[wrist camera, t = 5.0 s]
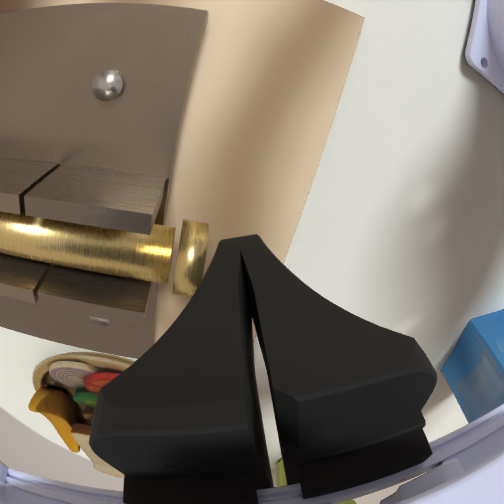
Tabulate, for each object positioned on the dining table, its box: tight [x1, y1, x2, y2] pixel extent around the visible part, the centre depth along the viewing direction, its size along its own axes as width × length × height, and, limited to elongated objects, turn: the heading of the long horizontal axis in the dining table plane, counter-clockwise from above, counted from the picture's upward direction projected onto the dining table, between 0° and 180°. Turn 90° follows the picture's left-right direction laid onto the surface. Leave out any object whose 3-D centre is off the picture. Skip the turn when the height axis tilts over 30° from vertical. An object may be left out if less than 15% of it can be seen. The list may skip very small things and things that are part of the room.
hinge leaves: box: [0, 3, 209, 359], centre depth 9 cm, size 12×15×4 cm
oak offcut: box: [0, 0, 364, 344], centre depth 11 cm, size 18×18×1 cm
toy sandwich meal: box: [28, 352, 135, 478], centre depth 17 cm, size 12×14×5 cm
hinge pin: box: [0, 210, 209, 297], centre depth 9 cm, size 13×2×2 cm, turn 76°
